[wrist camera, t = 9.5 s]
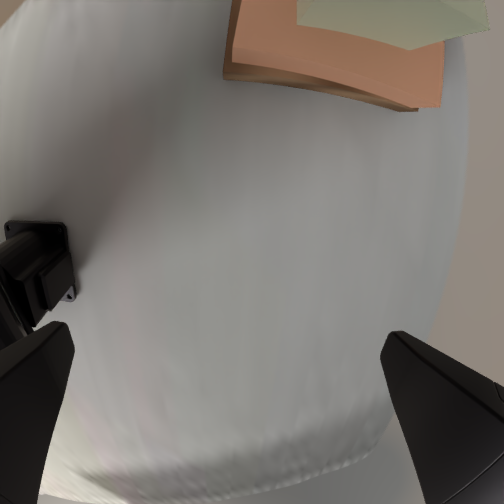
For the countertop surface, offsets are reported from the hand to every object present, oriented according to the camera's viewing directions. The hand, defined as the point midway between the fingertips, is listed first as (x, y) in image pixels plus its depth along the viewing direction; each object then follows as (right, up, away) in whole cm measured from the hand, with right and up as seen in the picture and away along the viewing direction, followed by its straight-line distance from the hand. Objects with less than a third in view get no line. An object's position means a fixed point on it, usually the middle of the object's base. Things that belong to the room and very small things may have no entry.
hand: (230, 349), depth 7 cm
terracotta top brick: (+6, +17, +5) cm, 19 cm away
